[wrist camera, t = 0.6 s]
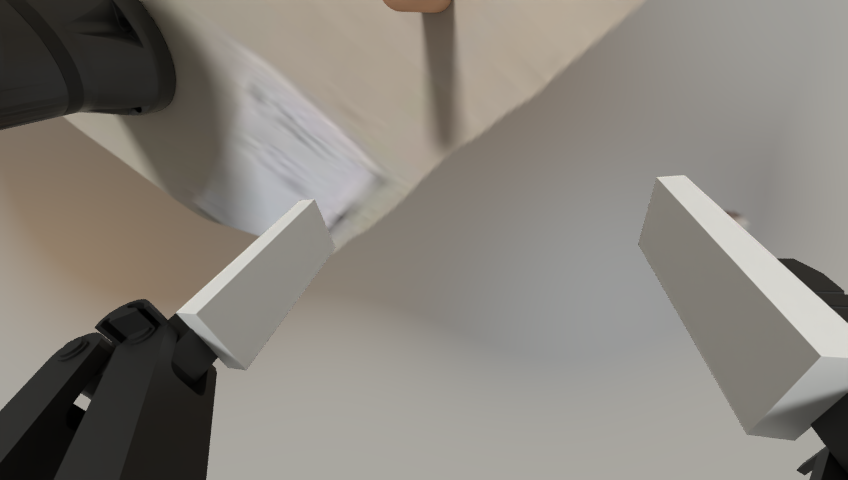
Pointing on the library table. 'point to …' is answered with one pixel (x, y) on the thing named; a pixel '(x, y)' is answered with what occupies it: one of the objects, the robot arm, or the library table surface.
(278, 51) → the library table surface
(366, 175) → the library table surface
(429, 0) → the orange rounded rod
